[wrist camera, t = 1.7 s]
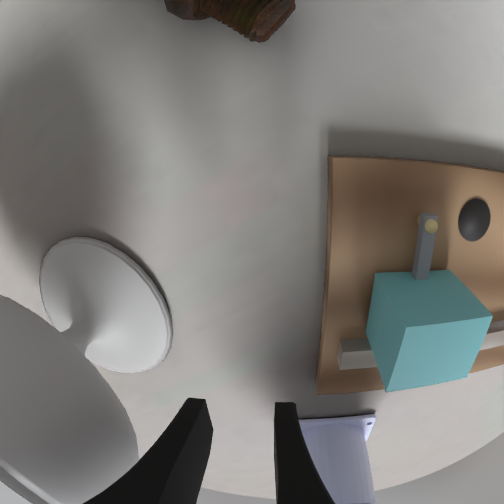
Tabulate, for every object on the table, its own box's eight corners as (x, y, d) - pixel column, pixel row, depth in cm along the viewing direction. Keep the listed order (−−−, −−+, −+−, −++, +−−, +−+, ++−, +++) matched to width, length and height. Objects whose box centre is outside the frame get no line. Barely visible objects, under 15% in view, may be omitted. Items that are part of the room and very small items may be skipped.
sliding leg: (435, 325, 16) (466, 377, 12) (365, 331, 17) (385, 392, 12) (459, 212, 14) (513, 245, 9) (381, 209, 14) (422, 246, 9)
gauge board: (533, 343, 19) (545, 358, 16) (315, 380, 21) (318, 407, 19) (576, 188, 13) (596, 196, 10) (328, 155, 15) (337, 160, 12)
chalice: (224, 299, 19) (150, 544, 5) (147, 399, 24) (91, 537, 10) (55, 184, 17) (-132, 281, 3) (27, 314, 22) (-66, 417, 8)
